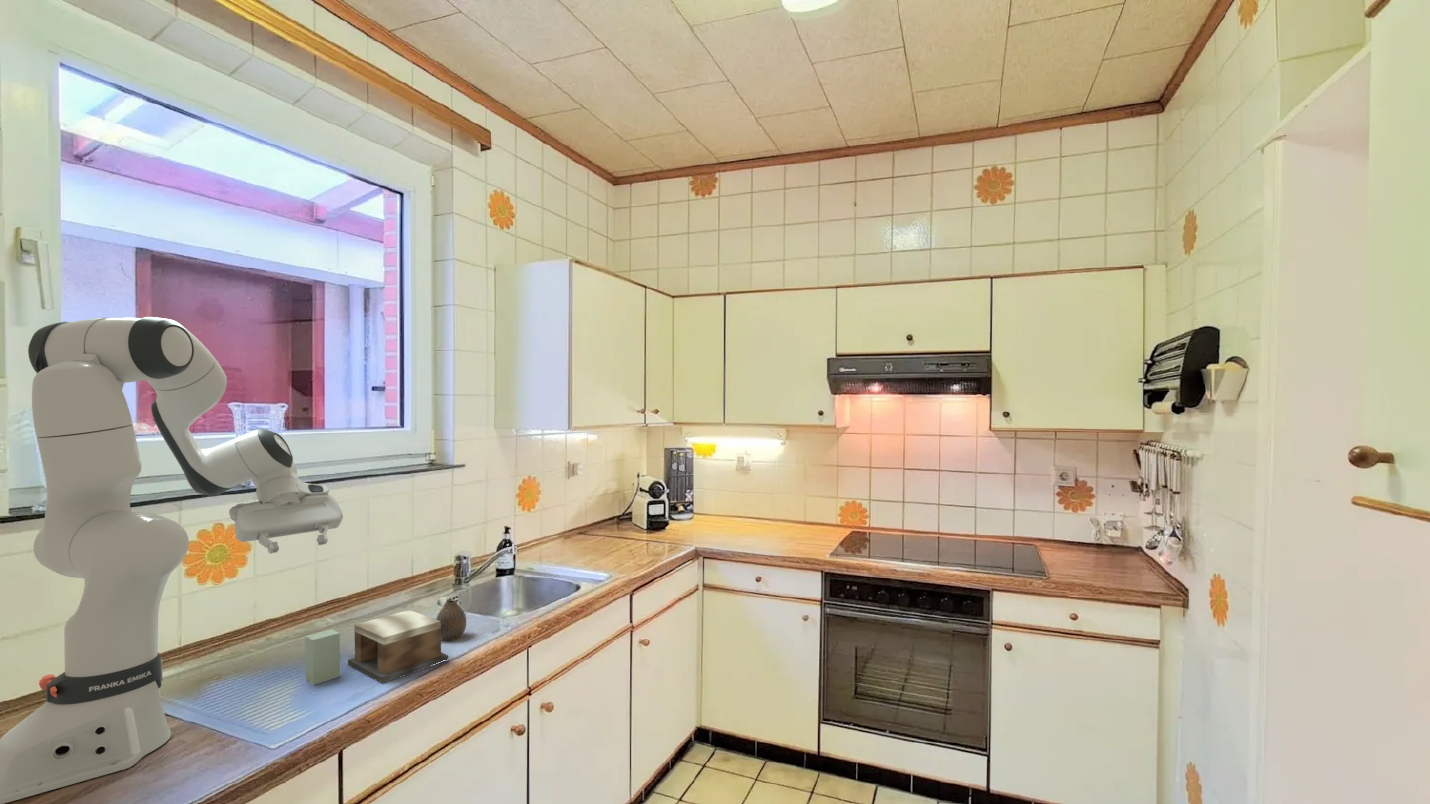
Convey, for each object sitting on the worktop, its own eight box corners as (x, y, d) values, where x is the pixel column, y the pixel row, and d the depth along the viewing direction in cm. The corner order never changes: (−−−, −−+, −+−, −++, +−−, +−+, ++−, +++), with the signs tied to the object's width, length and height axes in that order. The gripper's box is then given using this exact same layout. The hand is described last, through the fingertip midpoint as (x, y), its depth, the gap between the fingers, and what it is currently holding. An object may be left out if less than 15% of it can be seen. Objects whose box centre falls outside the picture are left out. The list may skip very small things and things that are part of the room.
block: (313, 685, 126) (312, 640, 127) (305, 680, 129) (305, 636, 129) (340, 676, 130) (339, 633, 131) (332, 672, 133) (331, 629, 133)
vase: (457, 630, 157) (456, 595, 157) (472, 636, 152) (471, 600, 152) (430, 639, 151) (429, 602, 151) (444, 645, 147) (443, 607, 147)
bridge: (381, 683, 126) (381, 640, 127) (348, 665, 136) (347, 624, 136) (447, 660, 137) (447, 620, 138) (412, 645, 147) (411, 608, 147)
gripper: (230, 496, 134) (245, 547, 128) (334, 485, 150) (352, 530, 144) (224, 515, 137) (238, 566, 131) (327, 502, 153) (345, 547, 147)
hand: (299, 547), depth 138 cm, fingers open, 8 cm apart
